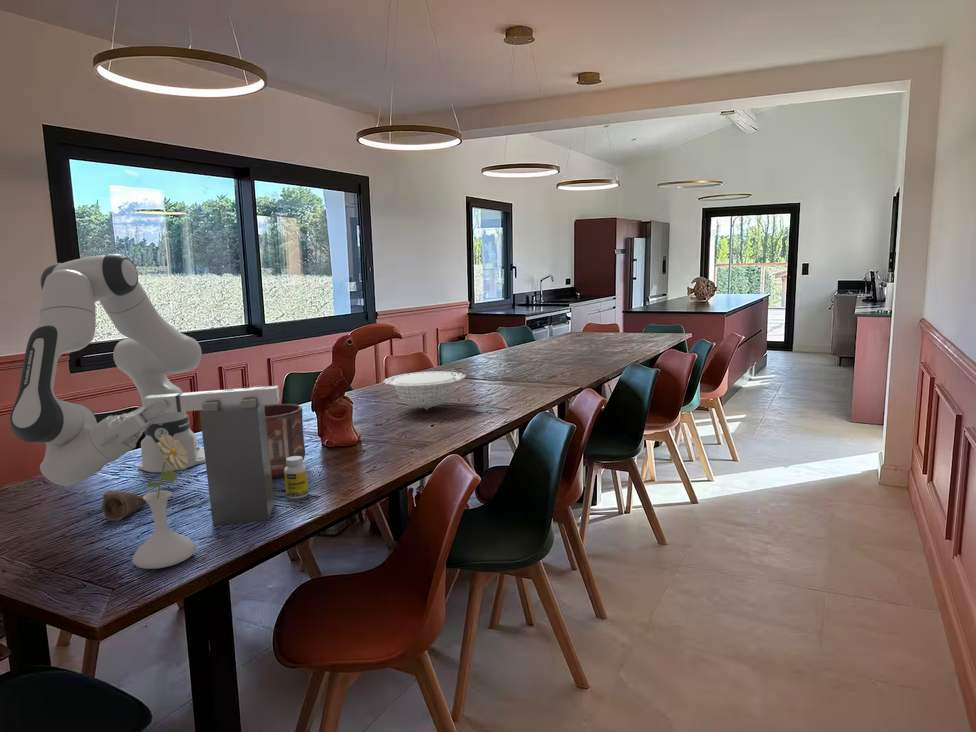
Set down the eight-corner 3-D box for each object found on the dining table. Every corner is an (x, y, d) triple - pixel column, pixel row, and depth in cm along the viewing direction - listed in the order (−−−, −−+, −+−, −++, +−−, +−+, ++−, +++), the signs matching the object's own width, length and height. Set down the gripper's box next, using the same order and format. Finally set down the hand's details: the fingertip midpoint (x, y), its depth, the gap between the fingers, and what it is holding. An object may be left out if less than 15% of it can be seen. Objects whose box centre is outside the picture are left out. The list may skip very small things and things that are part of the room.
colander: (368, 413, 256) (366, 381, 254) (426, 398, 279) (424, 368, 277) (426, 423, 235) (424, 388, 233) (484, 406, 259) (482, 374, 257)
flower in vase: (163, 578, 123) (146, 448, 119) (119, 570, 127) (101, 445, 124) (215, 549, 135) (201, 430, 131) (173, 543, 139) (159, 428, 136)
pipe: (117, 481, 169) (76, 487, 160) (156, 489, 160) (115, 496, 152) (117, 506, 169) (76, 513, 160) (155, 516, 160) (114, 524, 152)
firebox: (220, 510, 157) (207, 396, 153) (274, 504, 160) (262, 392, 155) (211, 526, 148) (197, 405, 143) (268, 520, 150) (256, 400, 146)
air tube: (150, 411, 148) (148, 395, 148) (279, 400, 153) (278, 385, 153) (145, 414, 145) (143, 398, 144) (277, 404, 150) (276, 388, 149)
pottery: (243, 468, 191) (237, 407, 188) (306, 460, 196) (300, 401, 193) (240, 486, 174) (233, 420, 172) (309, 477, 180) (303, 413, 177)
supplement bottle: (286, 500, 162) (282, 462, 161) (286, 493, 167) (282, 456, 166) (309, 497, 164) (305, 459, 162) (308, 490, 169) (305, 453, 167)
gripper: (87, 436, 135) (145, 398, 136) (122, 414, 155) (173, 381, 156) (107, 460, 136) (165, 422, 138) (139, 436, 156) (189, 403, 157)
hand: (169, 400), depth 147 cm, fingers closed on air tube, 4 cm apart
